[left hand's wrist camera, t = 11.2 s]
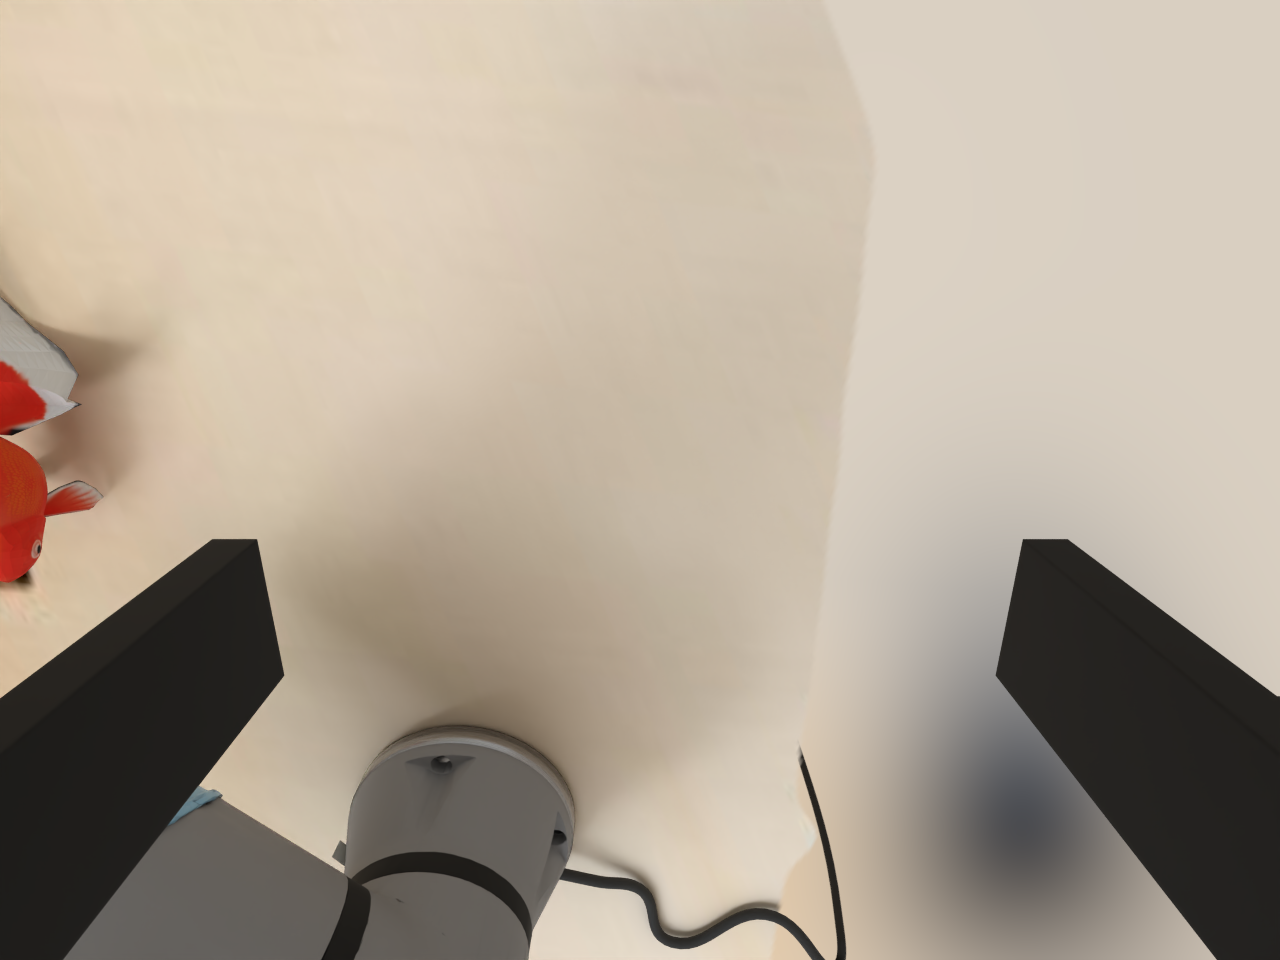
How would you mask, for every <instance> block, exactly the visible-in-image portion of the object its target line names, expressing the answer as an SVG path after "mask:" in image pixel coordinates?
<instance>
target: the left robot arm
mask: <svg viewBox="0 0 1280 960" xmlns="http://www.w3.org/2000/svg"><path fill="white" fill-rule="evenodd" d="M283 677H284V671H283V666H282V661H281V656H280V651H279V646H278V641H277V637H276V632H275V627H274V622H273V617H272V612H271V607H270V602H269V597H268V592H267V587H266V582H265V577H264V572H263V567H262V562H261V557H260V552H259V547H258V542H257V539H212V540H211V541H209V542H208V543H207V544H205V545H204V546H203V547H201V548H200V549H199V550H197V551H196V552H195V553H193V554H192V555H191V556H189V557H188V558H187V559H185V560H184V561H183V562H181V563H180V564H179V565H177V566H176V567H175V568H173V569H172V570H171V571H169V572H168V573H167V574H165V575H164V576H163V577H161V578H160V579H159V580H157V581H156V582H155V583H153V584H152V585H151V586H149V587H148V588H147V589H145V590H144V591H143V592H141V593H140V594H139V595H137V596H136V597H135V598H133V599H132V600H131V601H129V602H128V603H127V604H125V605H124V606H123V607H121V608H120V609H119V610H117V611H116V612H115V613H113V614H112V615H111V616H109V617H108V618H107V619H105V620H104V621H103V622H101V623H100V624H99V625H97V626H96V627H95V628H93V629H92V630H91V631H89V632H88V633H87V634H85V635H84V636H83V637H81V638H80V639H79V640H77V641H76V642H75V643H73V644H72V645H71V646H69V647H68V648H67V649H65V650H64V651H63V652H61V653H60V654H59V655H57V656H56V657H55V658H53V659H52V660H51V661H49V662H48V663H47V664H45V665H44V666H43V667H41V668H40V669H39V670H37V671H36V672H35V673H33V674H32V675H31V676H29V677H28V678H27V679H25V680H24V681H23V682H21V683H20V684H19V685H17V686H16V687H15V688H13V689H12V690H11V691H9V692H8V693H7V694H5V695H4V696H3V697H1V698H0V960H528V957H529V949H530V942H531V937H532V931H533V929H534V927H535V925H536V923H537V921H538V919H539V917H540V915H541V913H542V911H543V909H544V907H545V906H546V904H547V902H548V900H549V898H550V896H551V894H552V892H553V890H554V888H555V886H556V884H557V882H558V881H559V879H560V880H565V881H569V882H574V883H579V884H584V885H588V886H593V887H599V888H607V889H624V890H629V891H632V892H635V893H637V894H638V895H639V896H641V898H642V899H643V901H644V903H645V905H646V909H647V913H648V919H649V924H650V928H651V931H652V933H653V935H654V936H655V937H656V939H657V940H658V941H660V942H661V943H662V944H664V945H666V946H669V947H671V948H677V949H690V948H694V947H698V946H700V945H703V944H705V943H707V942H709V941H711V940H712V939H714V938H716V937H717V936H719V935H721V934H722V933H724V932H725V931H727V930H729V929H731V928H732V927H734V926H736V925H738V924H740V923H743V922H746V921H750V920H756V919H759V920H768V921H772V922H775V923H777V924H779V925H781V926H783V927H784V928H786V929H787V930H788V931H789V932H790V933H791V934H792V935H793V936H794V937H795V938H796V939H797V940H798V941H799V943H800V944H801V945H802V946H803V948H804V949H805V951H806V952H807V953H808V955H809V956H810V957H811V959H812V960H825V959H824V958H823V957H822V956H821V954H820V953H819V952H818V950H817V949H816V948H815V946H814V945H813V943H812V942H811V941H810V939H809V938H808V937H807V936H806V934H805V933H804V932H803V931H802V930H801V929H800V928H799V927H798V926H797V925H796V924H795V923H794V922H793V921H792V920H790V919H789V918H787V917H786V916H784V915H782V914H780V913H778V912H776V911H773V910H769V909H763V908H753V909H747V910H743V911H740V912H738V913H735V914H733V915H731V916H729V917H728V918H726V919H724V920H722V921H721V922H719V923H718V924H716V925H714V926H713V927H711V928H710V929H708V930H706V931H704V932H702V933H700V934H698V935H695V936H692V937H688V938H678V937H673V936H670V935H668V934H666V933H665V932H664V931H663V930H662V928H661V926H660V924H659V920H658V915H657V910H656V905H655V901H654V898H653V896H652V894H651V893H650V891H649V890H648V889H647V888H646V887H645V886H644V885H642V884H641V883H639V882H637V881H635V880H632V879H628V878H618V877H604V876H598V875H593V874H588V873H584V872H579V871H574V870H570V869H565V866H566V864H567V861H568V859H569V856H570V853H571V849H572V843H573V834H574V824H575V812H574V805H573V800H572V797H571V794H570V791H569V789H568V787H567V785H566V783H565V781H564V779H563V778H562V776H561V775H560V773H559V772H558V771H557V770H556V768H555V767H554V766H553V765H552V764H551V763H550V762H549V761H548V760H547V759H546V758H545V757H544V756H543V755H541V754H540V753H539V752H537V751H536V750H535V749H533V748H532V747H530V746H528V745H527V744H525V743H523V742H521V741H519V740H517V739H515V738H513V737H511V736H508V735H505V734H503V733H499V732H496V731H493V730H488V729H484V728H477V727H469V726H446V727H437V728H432V729H427V730H423V731H420V732H416V733H414V734H411V735H408V736H406V737H404V738H402V739H400V740H398V741H396V742H395V743H393V744H392V745H390V746H389V747H388V748H386V749H385V750H384V751H382V752H381V753H380V754H379V755H378V756H377V757H376V758H375V760H374V761H373V762H372V763H371V765H370V766H369V768H368V769H367V771H366V772H365V774H364V776H363V778H362V781H361V783H360V785H359V787H358V789H357V791H356V793H355V795H354V797H353V800H352V803H351V807H350V813H349V819H348V830H347V843H346V844H344V843H343V842H342V841H340V842H339V844H338V846H337V848H336V850H335V852H334V854H333V856H332V857H333V858H334V859H336V860H337V861H338V862H340V863H341V864H342V865H344V866H345V871H344V874H343V873H342V872H340V871H338V870H337V869H335V868H333V867H332V866H330V865H328V864H327V863H325V862H324V861H322V860H320V859H319V858H317V857H315V856H314V855H312V854H310V853H309V852H307V851H306V850H304V849H302V848H301V847H299V846H297V845H296V844H294V843H292V842H291V841H289V840H288V839H286V838H284V837H283V836H281V835H279V834H278V833H276V832H274V831H273V830H271V829H270V828H268V827H266V826H265V825H263V824H261V823H260V822H258V821H256V820H255V819H253V818H251V817H250V816H248V815H247V814H245V813H243V812H242V811H240V810H238V809H237V808H235V807H233V806H232V805H230V804H229V803H227V802H226V801H224V800H223V799H221V797H222V796H223V795H222V794H221V793H220V792H218V791H216V790H209V791H208V790H206V789H204V788H202V787H200V786H199V784H200V783H201V782H202V781H203V779H204V778H205V777H206V775H207V774H208V773H209V772H210V770H211V769H212V768H213V766H214V765H215V764H216V763H217V761H218V760H219V759H220V757H221V756H222V755H223V754H224V752H225V751H226V750H227V748H228V747H229V746H230V745H231V743H232V742H233V741H234V739H235V738H236V737H237V736H238V734H239V733H240V732H241V730H242V729H243V728H244V727H245V725H246V724H247V723H248V721H249V720H250V719H251V718H252V716H253V715H254V714H255V712H256V711H257V710H258V709H259V707H260V706H261V705H262V703H263V702H264V701H265V700H266V698H267V697H268V696H269V694H270V693H271V692H272V691H273V689H274V688H275V687H276V685H277V684H278V683H279V682H280V680H281V679H282V678H283ZM996 677H997V678H998V679H999V680H1000V682H1001V683H1002V684H1003V685H1004V687H1005V688H1006V689H1007V691H1008V692H1009V693H1010V694H1011V696H1012V697H1013V698H1014V700H1015V701H1016V702H1017V703H1018V705H1019V706H1020V707H1021V709H1022V710H1023V711H1024V712H1025V714H1026V715H1027V716H1028V718H1029V719H1030V720H1031V721H1032V723H1033V724H1034V725H1035V727H1036V728H1037V729H1038V730H1039V732H1040V733H1041V734H1042V736H1043V737H1044V738H1045V739H1046V741H1047V742H1048V743H1049V745H1050V746H1051V747H1052V748H1053V750H1054V751H1055V752H1056V754H1057V755H1058V756H1059V757H1060V759H1061V760H1062V761H1063V763H1064V764H1065V765H1066V766H1067V768H1068V769H1069V770H1070V772H1071V773H1072V774H1073V775H1074V777H1075V778H1076V779H1077V781H1078V782H1079V783H1080V784H1081V786H1082V787H1083V788H1084V790H1085V791H1086V792H1087V793H1088V795H1089V796H1090V797H1091V798H1092V800H1093V801H1094V802H1095V804H1096V805H1097V806H1098V808H1099V809H1100V810H1101V811H1102V813H1103V814H1104V815H1105V817H1106V818H1107V819H1108V820H1109V822H1110V823H1111V824H1112V826H1113V827H1114V828H1115V829H1116V831H1117V832H1118V833H1119V834H1120V836H1121V837H1122V838H1123V840H1124V841H1125V842H1126V844H1127V845H1128V846H1129V847H1130V849H1131V850H1132V851H1133V853H1134V854H1135V855H1136V856H1137V858H1138V859H1139V860H1140V862H1141V863H1142V864H1143V865H1144V867H1145V868H1146V869H1147V870H1148V872H1149V873H1150V874H1151V876H1152V877H1153V878H1154V880H1155V881H1156V882H1157V883H1158V885H1159V886H1160V887H1161V888H1162V890H1163V891H1164V892H1165V894H1166V895H1167V896H1168V898H1169V899H1170V900H1171V901H1172V903H1173V904H1174V905H1175V907H1176V908H1177V909H1178V910H1179V912H1180V913H1181V914H1182V916H1183V917H1184V918H1185V919H1186V921H1187V922H1188V923H1189V924H1190V926H1191V927H1192V928H1193V930H1194V931H1195V932H1196V934H1197V935H1198V936H1199V937H1200V939H1201V940H1202V941H1203V943H1204V944H1205V945H1206V946H1207V948H1208V949H1209V950H1210V952H1211V953H1212V954H1213V955H1214V957H1215V958H1216V959H1217V960H1280V696H1276V695H1274V694H1273V693H1272V692H1270V691H1269V690H1268V689H1266V688H1265V687H1264V686H1262V685H1261V684H1260V683H1259V682H1257V681H1256V680H1255V679H1253V678H1252V677H1251V676H1249V675H1248V674H1246V673H1245V672H1244V671H1243V670H1241V669H1240V668H1239V667H1237V666H1236V665H1235V664H1233V663H1232V662H1231V661H1229V660H1228V659H1227V658H1225V657H1224V656H1223V655H1221V654H1220V653H1219V652H1217V651H1216V650H1215V649H1213V648H1212V647H1211V646H1209V645H1208V644H1207V643H1205V642H1204V641H1203V640H1201V639H1200V638H1199V637H1197V636H1196V635H1195V634H1193V633H1192V632H1190V631H1189V630H1188V629H1187V628H1185V627H1184V626H1183V625H1181V624H1180V623H1179V622H1177V621H1176V620H1175V619H1173V618H1172V617H1171V616H1169V615H1168V614H1166V613H1165V612H1164V611H1163V610H1161V609H1160V608H1159V607H1157V606H1156V605H1155V604H1153V603H1152V602H1150V601H1149V600H1148V599H1147V598H1145V597H1144V596H1143V595H1141V594H1140V593H1139V592H1137V591H1136V590H1134V589H1133V588H1132V587H1131V586H1129V585H1128V584H1127V583H1125V582H1124V581H1123V580H1121V579H1120V578H1119V577H1117V576H1116V575H1115V574H1113V573H1112V572H1111V571H1109V570H1108V569H1107V568H1105V567H1104V566H1103V565H1101V564H1100V563H1099V562H1097V561H1096V560H1095V559H1093V558H1092V557H1091V556H1089V555H1088V554H1087V553H1085V552H1084V551H1083V550H1081V549H1080V548H1079V547H1077V546H1076V545H1075V544H1073V543H1072V542H1071V541H1069V540H1068V539H1023V542H1022V547H1021V552H1020V557H1019V562H1018V567H1017V572H1016V577H1015V582H1014V587H1013V592H1012V597H1011V602H1010V607H1009V612H1008V617H1007V622H1006V627H1005V632H1004V637H1003V641H1002V647H1001V651H1000V656H999V661H998V667H997V672H996ZM799 765H800V768H801V771H802V774H803V777H804V781H805V784H806V787H807V790H808V794H809V797H810V800H811V804H812V807H813V811H814V814H815V818H816V822H817V825H818V829H819V833H820V838H821V841H822V846H823V851H824V855H825V860H826V865H827V870H828V876H829V882H830V888H831V895H832V903H833V911H834V919H835V927H836V936H837V956H836V959H835V960H846V939H845V930H844V923H843V916H842V908H841V901H840V894H839V887H838V882H837V876H836V871H835V865H834V860H833V856H832V852H831V847H830V843H829V839H828V835H827V831H826V827H825V823H824V820H823V816H822V813H821V809H820V806H819V803H818V799H817V796H816V793H815V790H814V786H813V783H812V780H811V777H810V774H809V771H808V768H807V765H806V762H805V759H804V756H803V753H802V750H801V747H800V756H799Z"/></svg>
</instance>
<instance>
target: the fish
mask: <svg viewBox="0 0 1280 960" xmlns="http://www.w3.org/2000/svg"><path fill="white" fill-rule="evenodd" d="M77 377H78V373H77V372H76V370H75V368H74V367H73V365H72V364H71V362H70V361H69V359H68V357H67V356H66V354H65V353H64V351H63V350H61V349H60V348H59V347H58V346H56V345H55V344H54V343H53V342H51V341H50V340H49V339H48V338H46V337H45V336H44V335H43V334H41V333H40V332H39V331H37V330H36V329H35V328H34V327H32V326H31V325H30V324H28V323H27V322H26V321H25V320H24V319H23V318H22V317H21V316H20V315H19V314H18V313H17V312H16V311H15V310H14V309H13V307H12V306H10V305H9V304H8V303H7V302H6V301H5V300H3V299H2V298H1V297H0V435H14V434H16V433H19V432H21V431H23V430H26V429H28V428H30V427H32V426H35V425H37V424H39V423H42V422H44V421H46V420H49V419H51V418H54V417H56V416H59V415H61V414H63V413H65V412H67V411H68V410H70V409H72V408H74V407H76V406H79V405H82V404H79V403H76V402H74V401H71V400H69V399H68V397H69V395H70V392H71V390H72V388H73V386H74V383H75V381H76V379H77ZM102 498H103V496H102V495H101V494H100V493H99V492H98V491H97V490H96V489H95V488H94V487H92V486H90V485H88V484H87V483H85V482H82V481H74V482H71V483H69V484H66V485H64V486H61V487H59V488H57V489H55V490H53V491H52V492H50V493H48V491H47V483H46V477H45V474H44V472H43V470H42V468H41V466H40V465H39V464H38V462H37V461H36V460H35V458H34V457H33V456H32V455H31V454H30V453H28V452H27V451H26V450H24V449H23V448H21V447H19V446H18V445H16V444H14V443H12V442H10V441H8V440H6V439H4V438H2V437H0V581H3V582H8V583H9V582H11V581H13V580H15V579H17V578H19V577H20V576H22V575H23V574H25V573H26V572H27V571H28V570H29V569H30V568H31V567H32V566H33V565H34V563H35V562H36V561H37V559H38V557H39V556H40V553H41V549H42V540H43V533H44V527H45V522H46V518H45V517H48V516H53V515H59V514H65V513H72V512H79V511H84V510H89V509H91V508H93V507H94V505H95V504H96V503H97V501H99V500H100V499H102Z"/></svg>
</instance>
